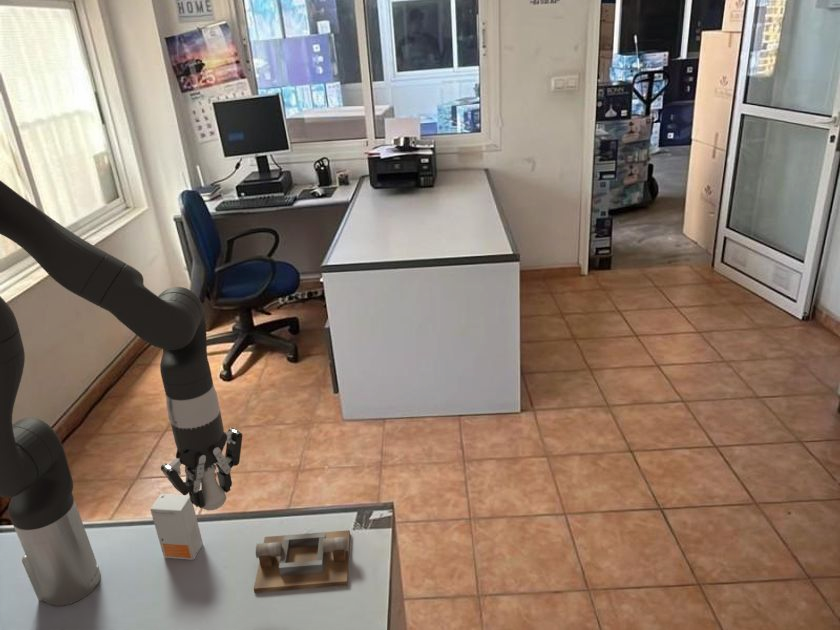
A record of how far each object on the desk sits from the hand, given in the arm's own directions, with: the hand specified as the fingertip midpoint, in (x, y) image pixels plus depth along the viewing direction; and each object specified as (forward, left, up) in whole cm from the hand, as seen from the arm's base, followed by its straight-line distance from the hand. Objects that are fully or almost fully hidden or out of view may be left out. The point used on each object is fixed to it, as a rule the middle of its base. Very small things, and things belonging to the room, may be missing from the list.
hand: (212, 496), depth 108 cm
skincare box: (-10, +6, -17) cm, 21 cm away
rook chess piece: (0, 0, -2) cm, 2 cm away
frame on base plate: (+13, +1, -17) cm, 22 cm away
